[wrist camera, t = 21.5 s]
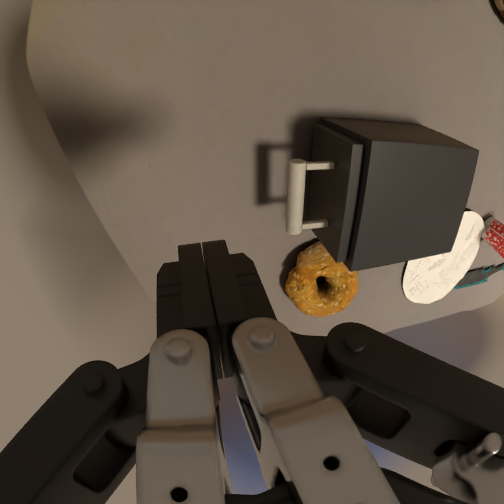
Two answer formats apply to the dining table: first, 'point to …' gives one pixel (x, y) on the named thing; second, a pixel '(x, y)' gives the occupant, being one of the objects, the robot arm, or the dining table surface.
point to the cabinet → (406, 191)
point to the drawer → (327, 190)
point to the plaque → (444, 264)
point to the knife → (477, 276)
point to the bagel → (326, 295)
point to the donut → (500, 6)
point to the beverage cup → (494, 234)
